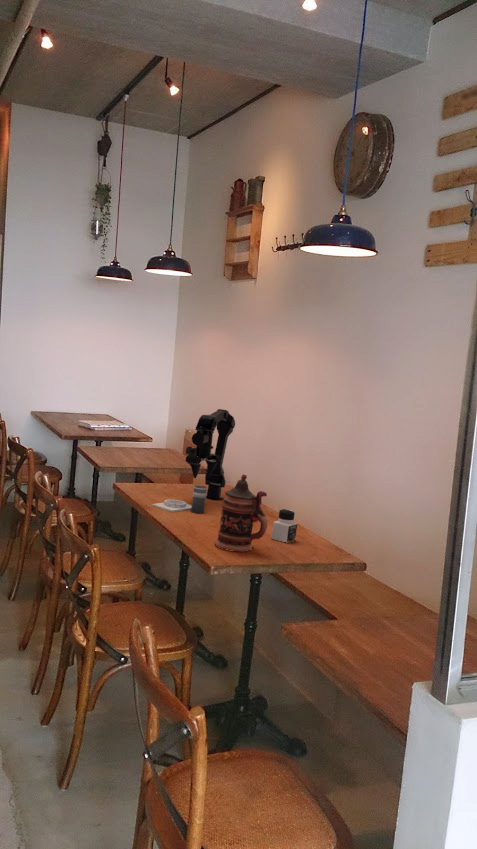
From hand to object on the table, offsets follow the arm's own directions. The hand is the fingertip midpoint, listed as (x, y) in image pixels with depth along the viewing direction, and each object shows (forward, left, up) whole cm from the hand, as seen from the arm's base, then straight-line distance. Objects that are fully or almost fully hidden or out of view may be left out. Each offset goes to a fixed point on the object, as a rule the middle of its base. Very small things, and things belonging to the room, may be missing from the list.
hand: (201, 477), depth 334 cm
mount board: (+14, -1, -13) cm, 19 cm away
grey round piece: (+10, +9, -13) cm, 19 cm away
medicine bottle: (+11, +56, -13) cm, 58 cm away
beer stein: (+38, +54, -13) cm, 67 cm away
